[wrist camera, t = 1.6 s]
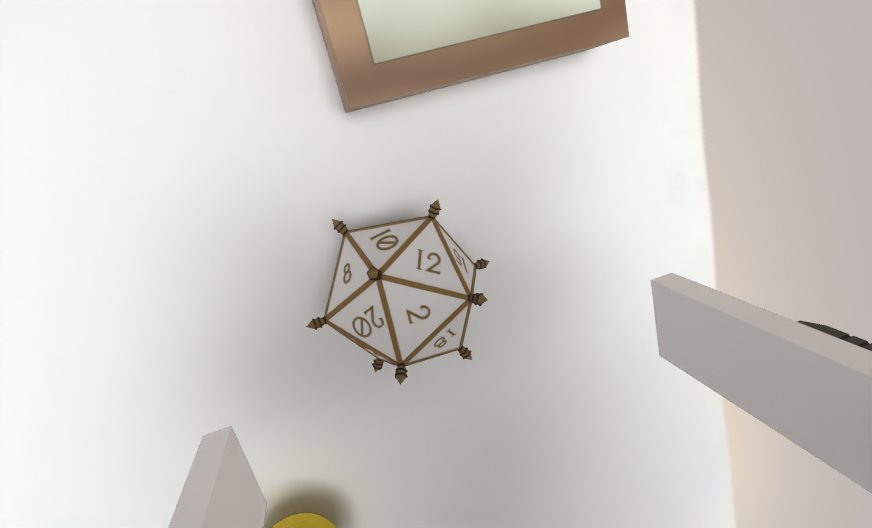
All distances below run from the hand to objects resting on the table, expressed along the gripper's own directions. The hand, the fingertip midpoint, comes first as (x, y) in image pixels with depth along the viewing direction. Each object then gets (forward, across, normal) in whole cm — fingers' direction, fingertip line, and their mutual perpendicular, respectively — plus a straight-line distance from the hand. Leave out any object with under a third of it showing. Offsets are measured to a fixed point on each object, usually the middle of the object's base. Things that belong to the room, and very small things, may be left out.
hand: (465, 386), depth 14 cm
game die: (+14, 0, 0) cm, 14 cm away
